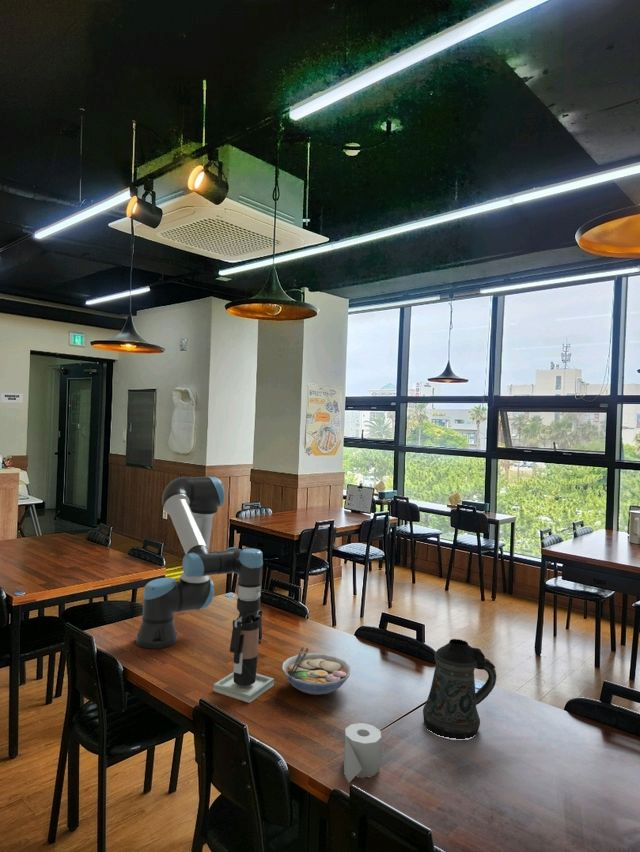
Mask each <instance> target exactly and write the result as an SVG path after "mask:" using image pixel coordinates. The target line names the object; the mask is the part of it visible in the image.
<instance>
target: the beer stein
mask: <svg viewBox="0 0 640 852" xmlns="http://www.w3.org/2000/svg"><path fill="white" fill-rule="evenodd" d="M434 660H435V668H434V672H433V676H432V681H431V685H430V690H429V693H428V696H427V700H426V702H425V703H424V706H423V709H422V714H423V715H422V716H423V724H424V726H426V727H425V729H426V728H427V729H428V730H430V731H432V732H433V733H435V734H437V735H440V736H444V737H449V738H456V739H465V738H470V737H473V736H474V735H476V734H477V735H478V733H479V729H480V726H481V719H480V716H479V713H478V708H477V705H479V704H480V703H481V702H483V701H484V700H485V699H486V698H487V697H488V696H489V695H490V694H491V692H492V691H493V690H494V688H495V685H496V682H497V672H496V666H495V664H493V662H491V660H489V659H488V658H486V657H485V654H484V652H483V651H482V649H480V648H477V647H472V646H471V645H469V642H467V641H466V640H463V639H459V638H452V639H450V640H449V641H448V643H446V644H445V645H442V646H441V647H439V648H438V649H437V650H436V651H435V652H434ZM475 669H476V670H479V671H480V670H482V671H483V670H484V672H486V673H487V675H488V677H487V679H486V681H485V682H484V684H483V685H482V686H481V687H480V688H479V689H478V690H477V691H476V683H475V682H476V681H475ZM427 729H426V730H427ZM428 730H427V731H428ZM430 731H429V732H430ZM477 732H478V733H477ZM433 733H432V734H433Z"/></svg>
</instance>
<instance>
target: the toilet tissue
mask: <svg viewBox="0 0 640 852" xmlns="http://www.w3.org/2000/svg"><path fill="white" fill-rule="evenodd" d="M381 753H382V733H381V730H380V729H379V728H378V727H376V726H374V725H373V724H368V723H363V722H361V723H360V722H359V723H351V724H350V725H349V726H347V727H345V729H344V747H343V776H344V775H345V776H346V777H347V779H348V780H349V782H348V783H350V782H352V780H353V779H355V778H356V777H355V776H358V777H357V778H359V777H362V778H361V779H364V778H363V777H368V776H374V775H375V774H376V773H377V772H378V771H379V770H381V756H382V755H381ZM378 773H379V772H378ZM378 773H377V774H378ZM377 774H376V775H377ZM376 775H375V776H376ZM345 776H344V777H345ZM375 776H374V777H375ZM347 779H346V780H347Z"/></svg>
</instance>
